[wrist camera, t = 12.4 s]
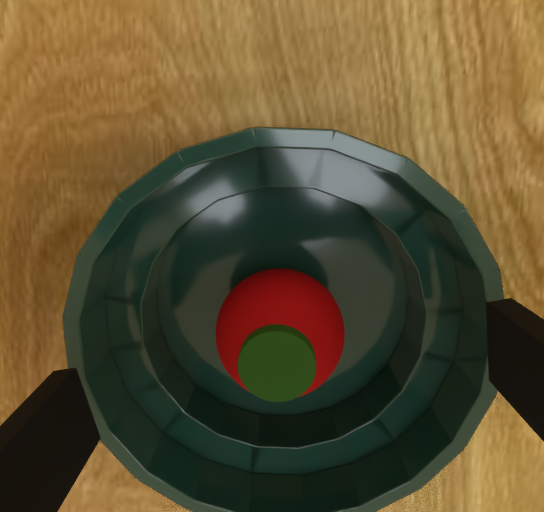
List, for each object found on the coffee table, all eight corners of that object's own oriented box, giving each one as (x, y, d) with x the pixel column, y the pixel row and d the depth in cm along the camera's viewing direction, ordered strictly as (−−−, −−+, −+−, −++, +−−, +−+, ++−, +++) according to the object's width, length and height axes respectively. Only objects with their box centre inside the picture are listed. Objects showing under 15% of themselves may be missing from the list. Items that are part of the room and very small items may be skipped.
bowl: (86, 387, 20) (26, 464, 15) (170, 77, 16) (125, 49, 11) (367, 474, 21) (393, 571, 16) (507, 205, 17) (595, 228, 13)
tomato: (213, 336, 19) (182, 404, 14) (248, 238, 17) (228, 273, 12) (313, 372, 19) (320, 452, 14) (355, 277, 18) (378, 327, 13)
